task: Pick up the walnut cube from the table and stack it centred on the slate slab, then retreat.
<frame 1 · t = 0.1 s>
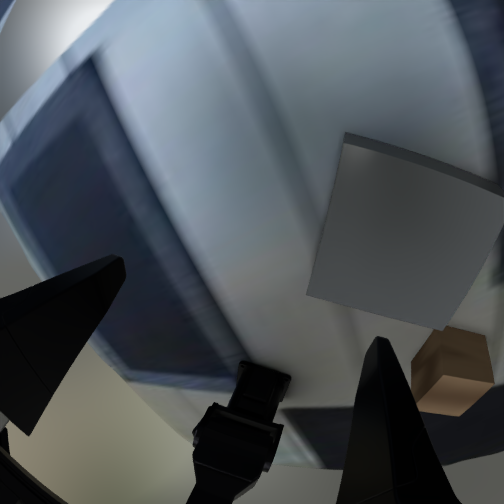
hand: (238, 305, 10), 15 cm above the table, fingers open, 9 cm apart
walnut cube: (447, 348, 26), on the table
slate slab: (403, 231, 22), on the table
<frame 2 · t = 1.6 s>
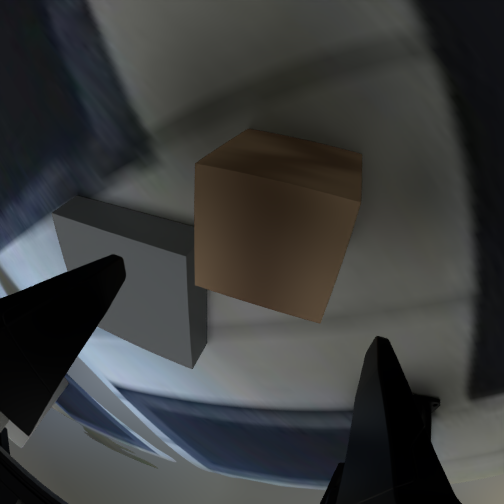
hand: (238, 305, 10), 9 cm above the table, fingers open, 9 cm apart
walnut cube: (295, 191, 17), on the table
slate slab: (141, 274, 25), on the table
white pillar candles: (54, 372, 57), on the table
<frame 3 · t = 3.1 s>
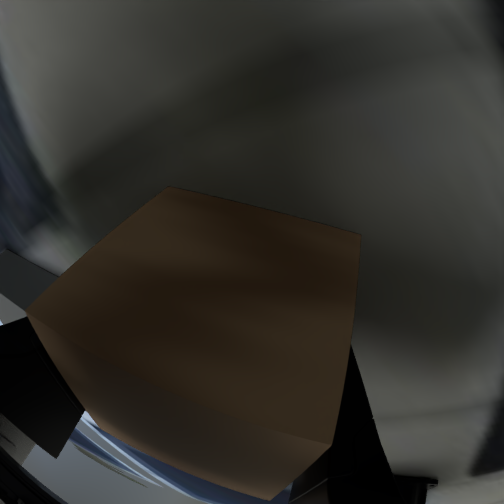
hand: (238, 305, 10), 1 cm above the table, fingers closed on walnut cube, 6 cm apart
walnut cube: (249, 285, 11), on the table, touching gripper
slate slab: (84, 342, 19), on the table
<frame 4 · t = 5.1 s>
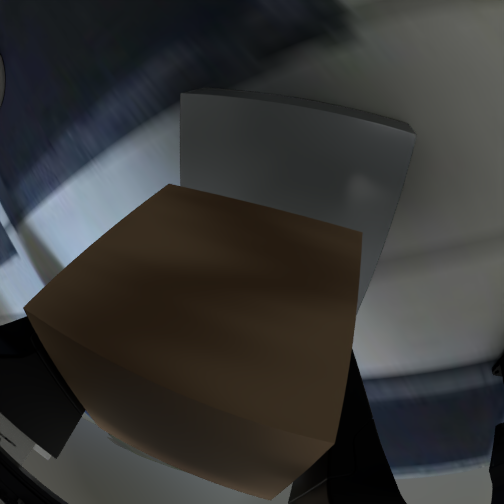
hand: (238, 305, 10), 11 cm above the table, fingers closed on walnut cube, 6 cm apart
walnut cube: (249, 283, 11), point 10 cm above the table, touching gripper
slate slab: (290, 193, 20), on the table
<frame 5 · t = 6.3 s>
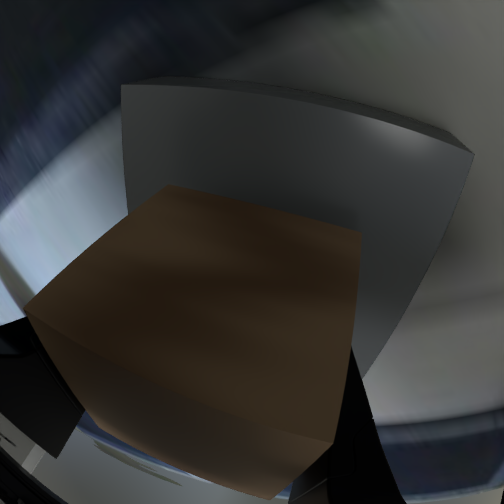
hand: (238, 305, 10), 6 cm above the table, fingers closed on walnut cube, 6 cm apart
walnut cube: (249, 283, 11), point 4 cm above the table, touching gripper
slate slab: (279, 222, 14), on the table
white pillar candles: (64, 384, 47), on the table
when the fingers open (5 cm above the table, at t = 7.1 s): walnut cube drops 1 cm, resting on slate slab.
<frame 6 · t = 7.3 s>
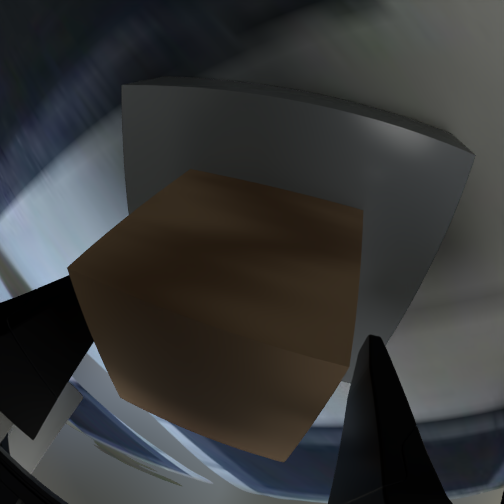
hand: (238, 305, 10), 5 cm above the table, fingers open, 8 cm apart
walnut cube: (262, 259, 12), point 3 cm above the table, touching slate slab
slate slab: (280, 223, 14), on the table
white pillar candles: (64, 384, 47), on the table
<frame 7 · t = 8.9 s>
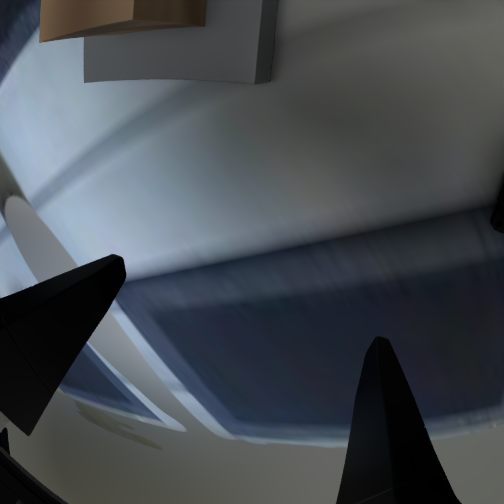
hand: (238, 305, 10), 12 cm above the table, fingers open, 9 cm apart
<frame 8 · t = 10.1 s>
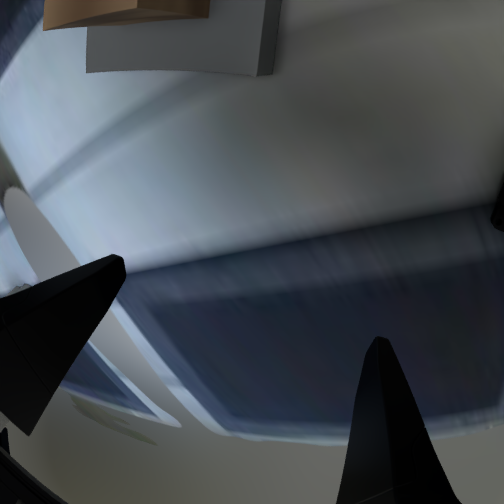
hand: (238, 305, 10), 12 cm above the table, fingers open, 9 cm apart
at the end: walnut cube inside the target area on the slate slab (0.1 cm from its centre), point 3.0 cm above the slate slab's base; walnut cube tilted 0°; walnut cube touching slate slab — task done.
